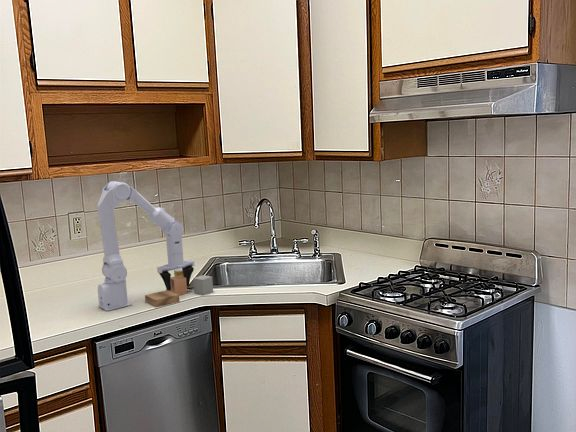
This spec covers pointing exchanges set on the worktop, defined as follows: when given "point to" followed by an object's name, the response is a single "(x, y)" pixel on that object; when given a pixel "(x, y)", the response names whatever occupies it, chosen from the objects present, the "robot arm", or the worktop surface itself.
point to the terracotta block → (178, 285)
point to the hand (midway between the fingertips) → (177, 287)
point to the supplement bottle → (178, 272)
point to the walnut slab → (162, 298)
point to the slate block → (203, 285)
